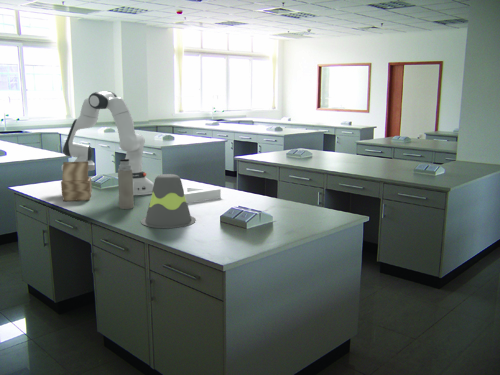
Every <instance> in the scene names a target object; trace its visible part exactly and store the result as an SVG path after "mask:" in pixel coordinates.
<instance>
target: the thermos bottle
mask: <svg viewBox="0 0 500 375" xmlns="http://www.w3.org/2000/svg"><path fill="white" fill-rule="evenodd" d="M119 161H120V162H119V163H120V164H119V165H118V169H117V182H118V183H117V184H118V204H119V209H122V210H130V209H133V208H134V206H135V205H134V204H135V202H134V195H133V174H132V169H131V165H130V164H129V159H125V158H122V159H119Z"/></svg>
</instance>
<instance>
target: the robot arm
mask: <svg viewBox="0 0 500 375" xmlns="http://www.w3.org/2000/svg"><path fill="white" fill-rule="evenodd" d="M106 109H108V110H109V112H110V113H111V116H112V118H113V121H114V124H115V126H116V129H117V133H118V138H119V144H118V145H119V148H120V149H121V150H122V151H124V152H126V154H125V158H124V159H129V164H130V165H131V169H132V174H133V196H145V195H152V190H153V186H154V182H153V181H152V180H150V179H149V178H147V173H146V172H145V171H143V154H144V146H145V143H146V142H145V141H146V140H145V137H144V136H143V135H142V134H141V133H137V132H136V131H135V126H134V124H135V122H134V119H133V117H132V114H131V112H130V110H129V107H128V105H127V103H126V102H125V100H124V99H123V97H120V96H117V94H116V93H115V92H113V91H109V90H108V91H102V90H101V91H96V92H93V93H91V94H90V95H89V96H88V97H86V98H85V99H84V100H83V102H82V105H81V110H80V114H79V117H78V118H76V119H74V120H73V122H72V124H71V126H70V129H69V131H68V135H67V137H66V140H65V142H64V144H63V145H62V153H63V154H64V155H65V157H73V158H76V159H74V160H73V162H88V172H90V171H91V172H92V171H94V170H95V171H96V166H95V165H96V164H95V162H94V161H93V160H91V159H92V156H93V149H92V147H91V145H89V144H85V143H78V142H75V141H74V138H75V136H76V134H77V132H78V131H80V130H83V129H90V128H93V127H94V126H96V125H97V121H98V119H99V114H100V111H101V110H106ZM60 167H61V172H63V164H62V165H61V166H60Z"/></svg>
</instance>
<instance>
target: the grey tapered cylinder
mask: <svg viewBox="0 0 500 375" xmlns="http://www.w3.org/2000/svg"><path fill="white" fill-rule="evenodd" d="M153 184H154V186H153V190H152V194H151V197H150V202H149V204H148V207H147V208H148V209H147V213H146V216H145V217H144V218H142V219H141V221H140V223H141V225H143V226H144V227H149V228H153V229H154V228H155V229H177V228H184V227H187V226H191V225H193V224H195V223H196V222H197V220H196V217H194V216H192V215H191V213H190V209H189V205H188V204H189V203H186V199H185V196H184V190H183V186H184V185H183V183H182V179H181V176H179V175H177V174H173V173H164V174H160V175H157V176H156V177H155V179H154V182H153ZM195 221H196V222H195Z"/></svg>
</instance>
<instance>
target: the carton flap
mask: <svg viewBox="0 0 500 375" xmlns="http://www.w3.org/2000/svg"><path fill="white" fill-rule="evenodd" d="M62 165H63V171H62V179H61V181H62V182H63V181H88V177H89V171H88V162H74V161H63V163H62Z"/></svg>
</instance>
